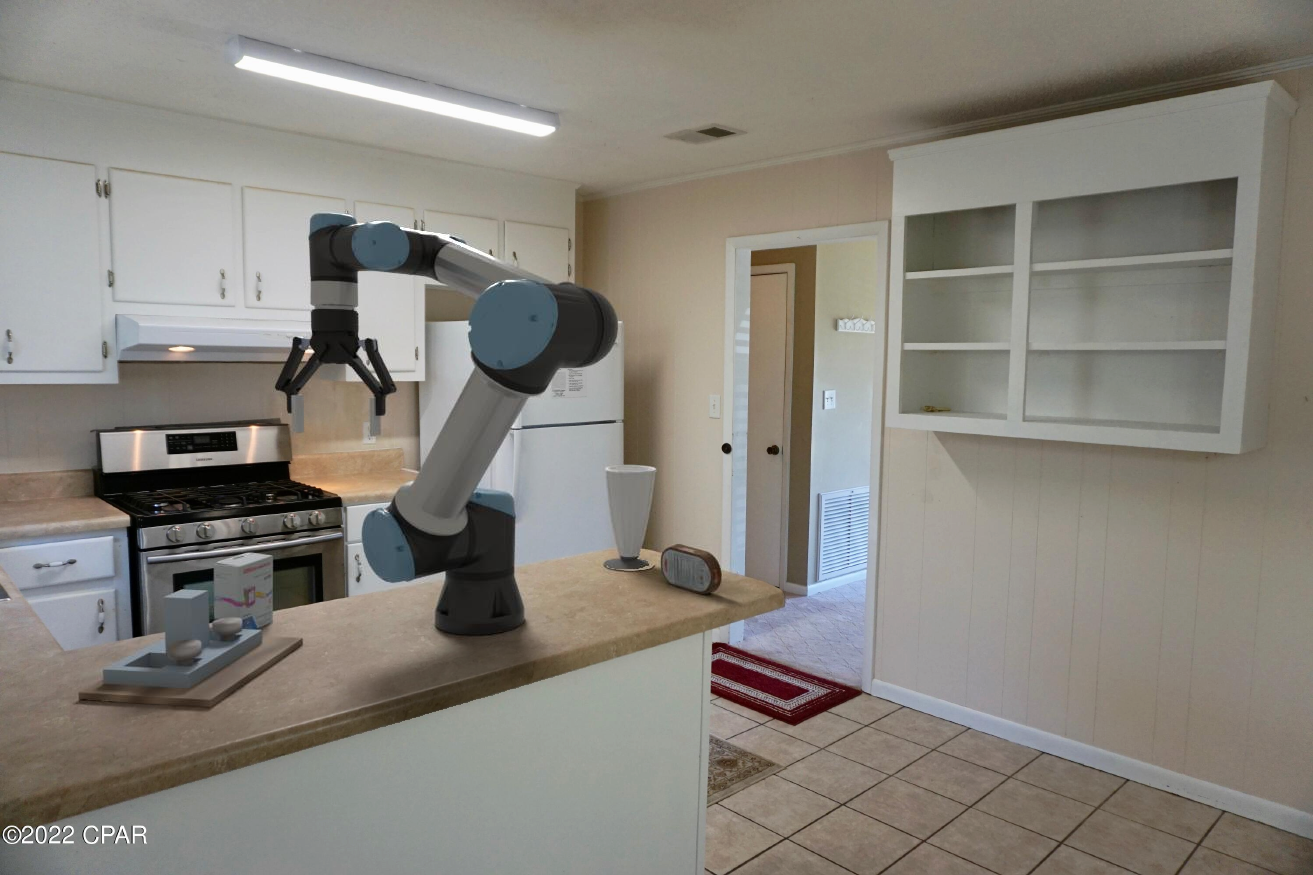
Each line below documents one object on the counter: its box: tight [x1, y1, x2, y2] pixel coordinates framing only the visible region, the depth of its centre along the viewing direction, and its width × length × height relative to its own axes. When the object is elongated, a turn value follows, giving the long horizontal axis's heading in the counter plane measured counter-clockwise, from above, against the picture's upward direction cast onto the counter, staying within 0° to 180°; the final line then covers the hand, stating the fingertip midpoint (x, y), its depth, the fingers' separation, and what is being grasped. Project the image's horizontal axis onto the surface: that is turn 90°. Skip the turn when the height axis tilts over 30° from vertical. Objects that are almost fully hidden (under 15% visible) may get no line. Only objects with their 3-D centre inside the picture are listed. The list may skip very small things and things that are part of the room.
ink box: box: [213, 552, 274, 630], centre depth 139 cm, size 9×5×12 cm, turn 168°
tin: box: [660, 543, 723, 595], centre depth 168 cm, size 15×3×8 cm, turn 43°
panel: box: [102, 588, 263, 688], centre depth 121 cm, size 12×18×10 cm, turn 176°
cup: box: [603, 464, 658, 569], centre depth 186 cm, size 12×12×22 cm
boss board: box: [78, 617, 304, 708], centre depth 121 cm, size 18×24×6 cm
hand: (336, 434), depth 144 cm, fingers open, 13 cm apart
